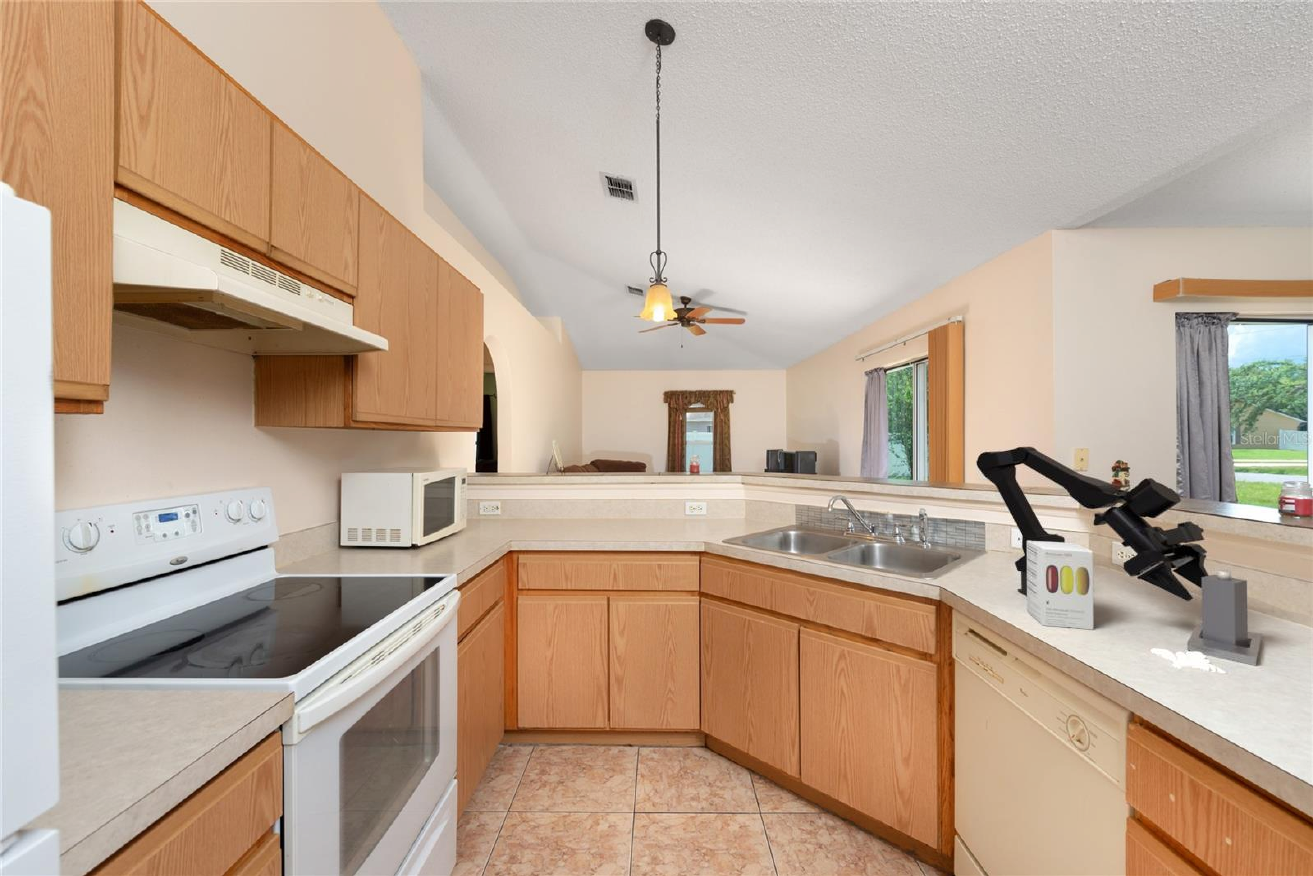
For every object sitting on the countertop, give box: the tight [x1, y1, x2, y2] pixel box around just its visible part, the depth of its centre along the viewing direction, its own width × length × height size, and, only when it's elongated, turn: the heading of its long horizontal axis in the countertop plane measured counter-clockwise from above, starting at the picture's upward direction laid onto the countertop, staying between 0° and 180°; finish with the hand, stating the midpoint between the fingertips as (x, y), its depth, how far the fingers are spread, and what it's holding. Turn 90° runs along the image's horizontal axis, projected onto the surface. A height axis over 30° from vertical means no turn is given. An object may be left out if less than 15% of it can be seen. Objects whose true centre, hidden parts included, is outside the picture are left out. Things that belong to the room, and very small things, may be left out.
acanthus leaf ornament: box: [1150, 648, 1227, 674], centre depth 91 cm, size 8×7×2 cm
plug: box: [1201, 569, 1249, 648], centre depth 97 cm, size 4×4×14 cm
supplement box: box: [1026, 541, 1095, 631], centre depth 112 cm, size 10×9×17 cm
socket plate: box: [1186, 621, 1262, 667], centre depth 97 cm, size 16×8×2 cm, turn 128°
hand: (1203, 596), depth 100 cm, fingers open, 9 cm apart
